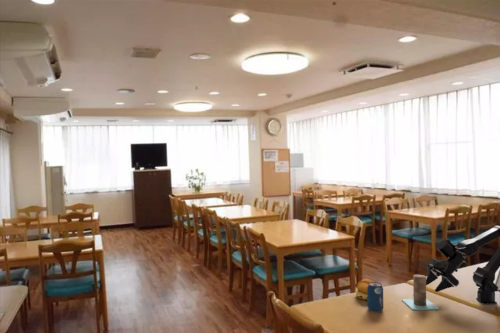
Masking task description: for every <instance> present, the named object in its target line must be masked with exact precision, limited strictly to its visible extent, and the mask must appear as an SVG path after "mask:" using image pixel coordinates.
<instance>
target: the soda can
mask: <svg viewBox="0 0 500 333" xmlns="http://www.w3.org/2000/svg"><path fill="white" fill-rule="evenodd" d="M382 285H383V283H380V282H377V281H372V282H370V283H369V285H368V287H367V296H368V300H367V308H368V310H369V312H372V313H381V312H382V311H383V310H384V287H383V286H382Z"/></svg>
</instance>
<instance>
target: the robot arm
mask: <svg viewBox="0 0 500 333" xmlns="http://www.w3.org/2000/svg"><path fill="white" fill-rule="evenodd" d="M499 237H500V225H494V226H493V227H492V228H490V229H488V230H486V231H485V232H482V233H480V234H478V235H477V236H475V237H473V238H468V239H464V240H461V241H458V242H457V243H454V244H453V243H452V242H451V240H450V239H448V238H445V239H444V240H441V241H439V242H438V243H437V244H436V247H435V248H436V250H437V251H439V252H440V253H441V254H442V255H443V257H445V258H446V259H436V258H433V257H431V259H430V261H429V264H427V265H426V271H427V276H426V286H428V285H430V284H431V283H433V282H434V281H436V280H437V279H439V277H441V281H440V282H439V283H438V285H437V287H435V289H434V291H435V293H438V292H441V291H443V290H447V289H450V288H454V287H455V288H457V287H458V286H459V285H460V281H459V280H458V279H457V278H456V277H455V276H454V275H453V274H454V272H456V273H457V272H458V271H459V270H458V268H459V267H460V266H461V265H462V264H463V263H466V264H469V260H468V259H469V258H468V257H470V256H473V255H475V254H476V253H477V252H478V251H479V250H480V249H481V247H482V246H485V245H487V244H488V243H490V242H492V241H493V240H494V241H495V239H498V238H499ZM464 255H465V256H464ZM499 269H500V246H499V247H498V248H497V249H496V251H495V252H494V253H493V255H492V256H491V258H490V259H489V260H488V261H487V263H486V264H485V265H484V266H483V267H480V266H477V268H476V270H475V271H474V272H472V280H473V283H475V285H476V287H478V288H477V292H476V294H477V295H476V296H477V297H476V300H477V301H478V300H479V302H480V303H482V304H483V303H484V304H483V305H489V303H497V304H498V302H497V301H496V292H498V289H499V286H498V285H497V284H496V283H495V280H496V273H497V272H498V270H499ZM487 303H488V304H487Z"/></svg>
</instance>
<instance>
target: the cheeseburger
mask: <svg viewBox="0 0 500 333" xmlns="http://www.w3.org/2000/svg"><path fill="white" fill-rule="evenodd" d="M370 282H373V281H372V280H370V279H367V278H366V279H362V280H359V281H358V283H357V284H356V288H355V297H357V299H360V300H362V301H363V300H364V301H368V296H367V287H368V285H369V283H370Z"/></svg>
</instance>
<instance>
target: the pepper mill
mask: <svg viewBox="0 0 500 333" xmlns="http://www.w3.org/2000/svg"><path fill="white" fill-rule="evenodd" d="M412 278H413V279H412V280H413V281H412V282H413V288H412V290H413V299H414V304H415V305H418V306H425V305H426V299H427V285H426V279H427V276H426V275H424V274H413V277H412Z"/></svg>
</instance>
